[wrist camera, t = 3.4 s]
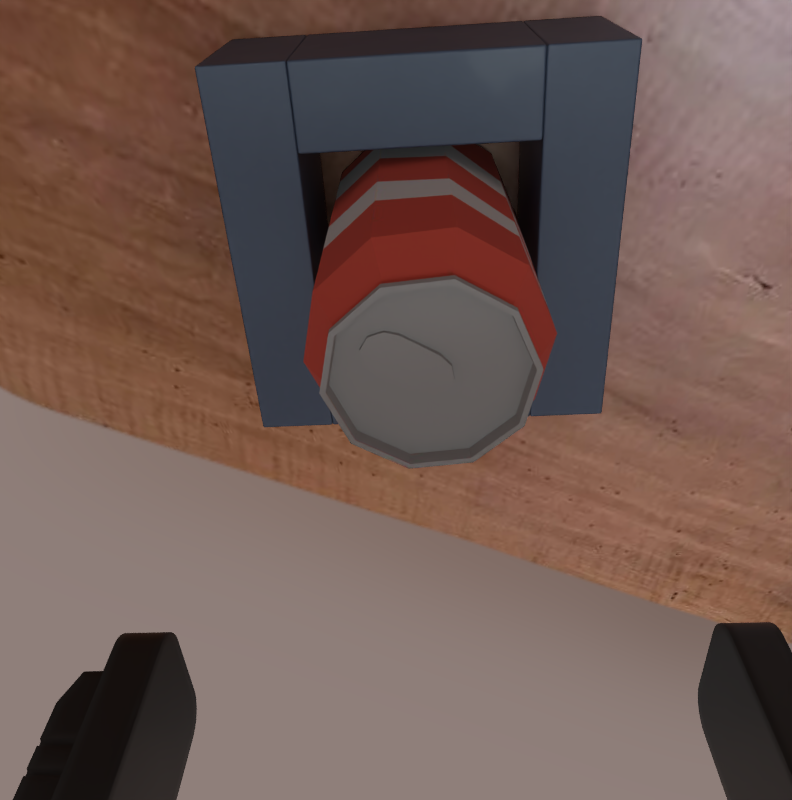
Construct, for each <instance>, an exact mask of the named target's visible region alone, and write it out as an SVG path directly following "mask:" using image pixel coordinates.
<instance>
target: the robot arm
mask: <svg viewBox="0 0 792 800" xmlns="http://www.w3.org/2000/svg"><path fill="white" fill-rule="evenodd" d="M698 706H699V714H700V719H701V724H702V728H703V731H704V734H705V737H706V740H707V743H708V745H709V748H710V751H711V754H712V757H713V760H714V763H715V765H716V768H717V771H718V774H719V777H720V780H721V783H722V785H723V788H724V791H725V794H726V797H727V800H792V652H791V650H790V648H789V646H788V644H787V642H786V640H785V638H784V636H783V634H782V632H781V631H780V629H779V628H778V627H777V626H776V625H775V624H773V623H770V622H760V623H719V624H717V625H716V626H715V628H714V631H713V634H712V638H711V642H710V646H709V649H708V653H707V657H706V661H705V664H704V668H703V672H702V676H701V679H700V683H699V688H698ZM196 709H197V708H196V696H195V691H194V688H193V685H192V682H191V679H190V676H189V673H188V670H187V667H186V664H185V660H184V657H183V655H182V652H181V648H180V645H179V642H178V639H177V637H176V635H175V634H174V633H172V632H166V633H165V632H163V633H124V634H122V635H120V637H119V638H118V639H117V641H116V642H115V644H114V647H113V649H112V651H111V654H110V656H109V659H108V661H107V664H106V666H105V669H104V671H93V672H83V673H82V674H81V676H80V677H79V678H78V679H77V680H76V681H75V682H74V684H73V685H72V686H71V687H70V688H69V689H68V690H67V692H66V693H65V694H64V695H63V696H62V697H61V698H60V699H59V701H58V702H57V703H56V705H55V707H54V709H53V712H52V714H51V716H50V718H49V721H48V723H47V725H46V727H45V729H44V732H43V734H42V736H41V738H40V740H41V743H40V745H39V746H37V747H36V749H35V752H34V754H33V756H32V758H31V760H30V763H29V765H28V767H27V774H26V776H24V777H23V778H22V780H21V783H20V785H19V787H18V789H17V792H16V794H15V796H14V798H13V800H176V799H177V795H178V792H179V788H180V784H181V780H182V777H183V773H184V769H185V765H186V762H187V758H188V754H189V750H190V747H191V743H192V739H193V735H194V730H195V724H196Z"/></svg>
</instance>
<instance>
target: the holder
mask: <svg viewBox="0 0 792 800" xmlns="http://www.w3.org/2000/svg"><path fill="white" fill-rule="evenodd" d="M641 47H642V39H641V38H640V37H638V36H636V35H634V34H632V33H631V32H629V31H627V30H625V29H623V28H622V27H620V26H618V25H616V24H614V23H613V22H611V21H609V20H607V19H605V18H604V17H602V16H593V17H577V18H561V19H546V20H530V21H524V22H522V21H516V22H500V23H485V24H469V25H453V26H438V27H422V28H407V29H391V30H376V31H360V32H344V33H329V34H313V35H308V36H306V35H296V36H281V37H265V38H250V39H234V40H231V41H229V42H228V43H227V44H225V45H224V46H222V47H221V48H220V49H218V50H217V51H216V52H214V53H213V54H212V55H210V56H209V57H208V58H206V59H205V60H203V61H202V62H201V63H199V64H198V65H197V66H195V72H196V77H197V82H198V87H199V93H200V98H201V103H202V108H203V113H204V119H205V124H206V129H207V134H208V140H209V145H210V150H211V155H212V160H213V166H214V171H215V176H216V181H217V187H218V192H219V197H220V202H221V207H222V213H223V218H224V223H225V228H226V234H227V239H228V244H229V249H230V254H231V260H232V265H233V270H234V275H235V281H236V286H237V291H238V296H239V301H240V307H241V312H242V317H243V322H244V328H245V333H246V338H247V343H248V348H249V354H250V359H251V364H252V369H253V375H254V380H255V385H256V390H257V395H258V401H259V406H260V411H261V416H262V421H263V426H264V427H281V426H305V425H330V424H332V423H333V424H338V422H337V421H336V419H335V417H334V416H333V414H332V413H331V411H330V409H329V408H328V406H327V405H326V403H325V402H324V400H323V398H322V397H321V395H320V394H319V392H320V387H319V386H318V384H317V382H316V381H315V379H314V378H313V376H312V374H311V373H310V371H309V370H308V368H307V367H306V365H305V363H304V362H303V361H304V353H305V345H306V338H307V330H308V323H309V315H310V308H311V300H312V292H313V288H314V284H315V280H316V276H317V272H318V268H319V264H320V260H321V256H322V252H323V248H324V244H325V240H326V236H327V232H328V220H327V211H326V202H325V194H324V185H323V176H322V167H321V158H320V153H326V152H344V151H361V150H379V149H396V148H414V147H431V146H449V145H466V144H484V143H501V142H519V141H520V158H519V191H518V224H519V227H520V229H521V232H522V235H523V238H524V241H525V244H526V246H527V249H528V252H529V255H530V258H531V261H532V264H533V266H534V269H535V272H536V275H537V278H538V281H539V283H540V286H541V289H542V292H543V295H544V298H545V300H546V303H547V306H548V309H549V312H550V315H551V317H552V320H553V323H554V326H555V329H556V332H557V335H556V338H555V341H554V344H553V347H552V350H551V353H550V356H549V359H548V362H547V365H546V368H545V371H544V373H543V376H542V379H541V382H540V385H539V388H538V391H537V394H536V397H535V399H534V400H533V402H532V405H531V408H530V411H529V414H528V416H530V415H531V416H548V415H572V414H597V413H601V412H602V403H603V394H604V385H605V376H606V367H607V358H608V348H609V339H610V330H611V321H612V312H613V303H614V294H615V284H616V275H617V266H618V257H619V248H620V239H621V230H622V220H623V211H624V202H625V193H626V184H627V175H628V165H629V156H630V147H631V138H632V129H633V120H634V111H635V101H636V92H637V83H638V74H639V65H640V56H641Z"/></svg>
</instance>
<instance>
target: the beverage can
mask: <svg viewBox="0 0 792 800" xmlns="http://www.w3.org/2000/svg"><path fill="white" fill-rule="evenodd" d="M556 335H557V332H556V329H555V326H554V323H553V320H552V317H551V315H550V312H549V309H548V306H547V303H546V300H545V298H544V295H543V292H542V289H541V286H540V283H539V281H538V278H537V275H536V272H535V269H534V266H533V264H532V261H531V258H530V255H529V252H528V249H527V246H526V244H525V241H524V238H523V235H522V232H521V229H520V227H519V224H518V221H517V218H516V215H515V212H514V210H513V207H512V204H511V201H510V199H509V197H508V194H507V192H506V189H505V187H504V184H503V182H502V179H501V177H500V174H499V172H498V169H497V167H496V164H495V162H494V159H493V157H492V154H491V153H490V152H488V151H486V150H485V149H483V148H481V147H479V146H478V145H476V144H466V145H449V146H431V147H414V148H396V149H379V150H365V151H364V152H363V153H362V154H361V155H360V156H359V157H358V158H357V159H356V160H355V161H354V162H353V163H352V164H351V165H350V166H349V167H348V168H347V169H346V170H345V171H344V172H342V176H341V180H340V184H339V188H338V192H337V196H336V200H335V204H334V208H333V212H332V216H331V220H330V224H329V228H328V232H327V236H326V240H325V244H324V248H323V252H322V256H321V260H320V264H319V268H318V272H317V276H316V280H315V284H314V288H313V292H312V300H311V308H310V315H309V323H308V330H307V338H306V345H305V353H304V361H303V362H304V363H305V365H306V367H307V368H308V370H309V371H310V373H311V374H312V376H313V378H314V379H315V381H316V382H317V384H318V386H319V387H320V392H319V394H320V395H321V397H322V398H323V400H324V402H325V403H326V405H327V406H328V408H329V409H330V411H331V413H332V414H333V416H334V417H335V419H336V421H337V422H338V424H339V425H340V427H341V428H342V430H343V432H344V433H345V435H346V436H347V438H348V439H349V441H350V443H351V444H353V445H356V446H358V447H360V448H363V449H365V450H367V451H369V452H372V453H374V454H376V455H379V456H381V457H383V458H386V459H388V460H390V461H392V462H395V463H397V464H399V465H402V466H404V467H406V468H409V469H410V468H420V467H430V466H440V465H451V464H461V463H471V462H474V461H476V460H477V459H479V458H480V457H481V456H483V455H484V454H486V453H487V452H488V451H490V450H491V449H493V448H494V447H495V446H497V445H498V444H500V443H501V442H503V441H504V440H505V439H507V438H508V437H510V436H511V435H512V434H514V433H515V432H517V431H518V430H519V429H521V428H522V427H524V426H525V423H526V420H527V417H528V414H529V411H530V408H531V405H532V402H533V400H534V399H535V397H536V394H537V391H538V388H539V385H540V382H541V379H542V376H543V373H544V371H545V368H546V365H547V362H548V359H549V356H550V353H551V350H552V347H553V344H554V341H555V338H556Z"/></svg>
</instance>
